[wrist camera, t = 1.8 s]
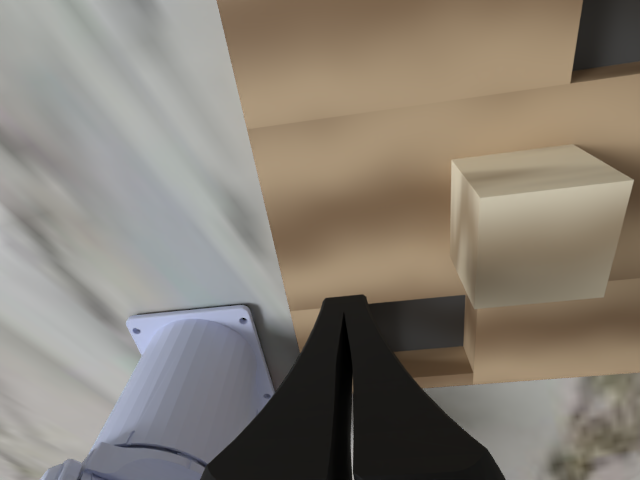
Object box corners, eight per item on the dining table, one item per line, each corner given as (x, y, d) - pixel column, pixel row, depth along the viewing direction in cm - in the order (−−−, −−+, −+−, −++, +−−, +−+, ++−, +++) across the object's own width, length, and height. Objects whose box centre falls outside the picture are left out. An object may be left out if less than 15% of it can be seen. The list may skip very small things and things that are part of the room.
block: (555, 245, 19) (603, 297, 16) (449, 256, 20) (474, 309, 16) (572, 144, 17) (633, 180, 14) (451, 159, 17) (480, 197, 14)
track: (796, 326, 25) (878, 384, 21) (312, 365, 28) (308, 422, 24) (1129, -241, 13) (1454, -342, 9) (216, -67, 16) (180, -88, 12)
